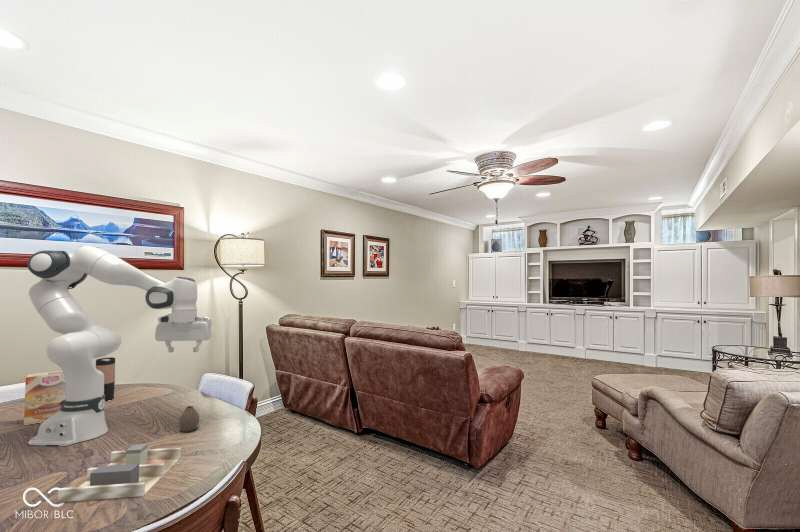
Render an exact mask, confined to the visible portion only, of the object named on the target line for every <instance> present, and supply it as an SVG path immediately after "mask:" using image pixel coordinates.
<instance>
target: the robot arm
mask: <svg viewBox="0 0 800 532" xmlns="http://www.w3.org/2000/svg"><path fill="white" fill-rule="evenodd" d="M27 269H28V270H29V272H30V273H31V274H33V275H34V276H36V277H37V278H39V279H40V281H38V282H37V283H34V284H33V285H32V286H31V287H29V291H28V296H29V299H30V300H31V303H32V305H33V306H34V308H35V310H36V312H37V313H38V315H40V317H41V318H42V319H43V320H44V322H45V324H46V325H47V327H49V329H50V330H52V331H53V332H55V333H59V334H61V335H59V336H57V337H54V338H52V339H51V340H50V341H49V342H48V344H47V347H46V356H47V358H48V359H49V360H50V362H52V364H53V363H54V364H56V365H57V366H58V367H59V368H60V370H61V371H63V373H64V376H65V381H66V399H65V400H63V401H61V402H60V403H57V404H59V405H57V407H58V406H60V405H61V407H60V410H59V411H58V412H56V413H55V414H54V415H52V416H51V417H50V418H48V419H47V420H45V421H44V422H43V423H40V424H39V427H38V431H37V434H36V436H34V437H32V438H30V440H28V441H27V442H28V443H27V445H28V444H29V445H28V446H46V445H59V446H58V447H67V446H70V445H74V444H76V443H81V442H86V441H90V440H92V439H96V438H98V437H101V436H103V435H104V434H106V433H108V432H109V428H108V426H107V420H106V417H105V416H106V415H105V409H106V402H105V394H104V374H103V372H101V371H100V370H97V369H96V365H95V364H94V363H95V362H94V359H98V358H103V357H106V356H107V355H110V354H112V353H113V352H115V351H117V350H118V349H119V348H120V346H121V344H122V336H121V333H119V332H118V331H117V330H115V329H112V328H111V327H110V328H109V327H107V326H105V325H103V324H102V323H101V322H99V321H96V320H95V319H94V318H93V317H91V316H90V315H89V314H88V313H87V312H86V311H85V310H84V309H83V308H82V307H81V305H80V304H79V303H78V302H77V300H76V299H75V298H74V297H73V296H72V294H71V293H70V291H69V290H72V289H75V288H76V287H77V286H78V285H80V284H81V283H83V282H84V281H85V280H86V279H87V277H88V276H89V277H91V278H93V279H95V280H98V281H100V282H102V283H105V284H109V285H111V286H112V285H115V286H129V287H135V288H139V289H142V290H144V291H146V293H145V295H144V297H145V302H146V305H148V307H149V308H151V309H154V310H167V309H171V313H167V314H166V315H162V316H159V317H157V322H158V324H156V326H155V327H156V328H155V333H154V335H155V336H154V339H155V340H156V341H157V342H164V345H165V346H166V348H167V353H174V352H175V347H173V346H172V342H185V341H186V342H187V341H189V342H190V341H191V342H192V341H193V342H195V343H196V346H194V347H192V348H193V350H192V352H193V353H198V352H199V350H200V346H201V345H202V344H203V343H202V342H204V341H209V340H211V339H212V336H213V335H212V328H211V327H212V319H210V318H209V317H207V316H202V317H201V316H199V317H198V307H197V301H198V285H197V282H196V280H195V279H194V278H190V277H186V276H176V277H173V279H171V280H169V281H168V282H165V281H163V280H162V279H159V278H157V277H155V276H153V275H151V274H148V273H146V272H144V271H142V270H140V269H139V268H138V267H135V266H134V265H131V264H130V263H129V262H127V261H125V260H123V259H121V258H120V257H118V256H117V255H115V254H113V253H111V252H109V251H106V250H104V249H102V248H99V247H95V246H92V245H83V246H80V247H78V248H77V249H75V250H74V251H73V252H72V253H68V252H67V251H65V250H40V251H37V252H35V253H33V254H31V256H30V257H29V259H28V260H27Z"/></svg>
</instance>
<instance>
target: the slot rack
mask: <svg viewBox="0 0 800 532" xmlns="http://www.w3.org/2000/svg"><path fill="white" fill-rule="evenodd" d="M181 454H182V447H170V448H169V447H168V448H166V447H165V448H150V449H149V448H148V457H147V464H145V465H139V482H138V483H127V484H113V485H98V486H90V473H91V472H93V471H94V470H96V469H97V468H98V467H89V468H88V469H87V470H86V481H84V482H82V483H81V484H80V485H79V486H73V487H61V488H59V489H58V490H57V494H58V495H57V503H67V502H68V503H69V502H83V501H95V500H108V499H109V500H110V499H120V498H121V499H122V498H123V499H124V498H136V497H137V498H138V497H143V496H144V495H145V494H146V493H147V492H148V491H149V490H150V489H151V488H152V487H153V486H154V485H156V483H157V482H158V481H159V480H160V479H161V478H162V477H163V476H164V475H165V474H166V473H167V472H168V471H169V470H170V469H171V467H173V466H174V465H175V464H176V462H178V461H179V460H180V459H181V457H182V455H181ZM125 464H126V450H117V451H116V450H115V451H112V452H111V453H110V463H108V464H107V465H106V466H109V465H125Z"/></svg>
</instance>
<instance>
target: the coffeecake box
mask: <svg viewBox="0 0 800 532" xmlns="http://www.w3.org/2000/svg"><path fill="white" fill-rule="evenodd" d="M24 385H25V390H24V407H23V408H24V410H23V411H24V412H23V426H24V425H29V424H33V423H38V422H43V421H45V420H47V419H48V418H50V417H51V416H52V415H54V414H55V413H56V412H58V411H59V410H60V407H61V405H60V406H58V407H57V405H59V404H57V403H60V402H61V401H63V400H65V399H66V381H65V376H64V373H63V371H62V370H56V371H46V372H38V373H28V374H27V375H26V376H25V384H24ZM29 426H30V425H29Z"/></svg>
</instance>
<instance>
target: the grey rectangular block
mask: <svg viewBox="0 0 800 532" xmlns="http://www.w3.org/2000/svg"><path fill="white" fill-rule="evenodd" d="M148 449H149V444H148V443H143V444H142V443H141V444H139V443H138V444H133V445H132V446H130V447H128V448H127V449H126V450H125V451H126V464H139V465H145V464H147V457H148Z"/></svg>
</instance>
